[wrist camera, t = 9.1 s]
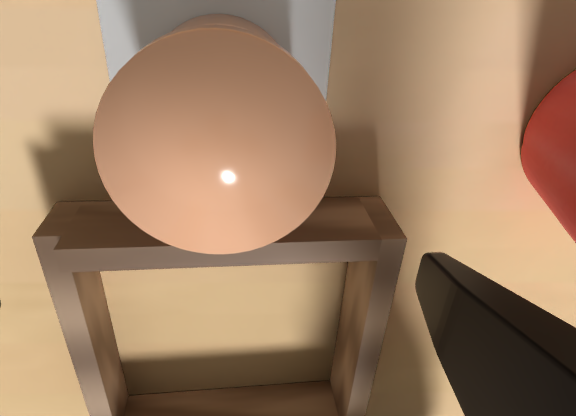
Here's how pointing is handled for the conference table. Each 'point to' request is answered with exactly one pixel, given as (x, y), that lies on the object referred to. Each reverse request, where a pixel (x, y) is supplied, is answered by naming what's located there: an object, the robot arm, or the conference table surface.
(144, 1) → the grey tile
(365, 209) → the wooden square frame
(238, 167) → the peach round piece
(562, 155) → the flower pot
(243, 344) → the conference table surface
